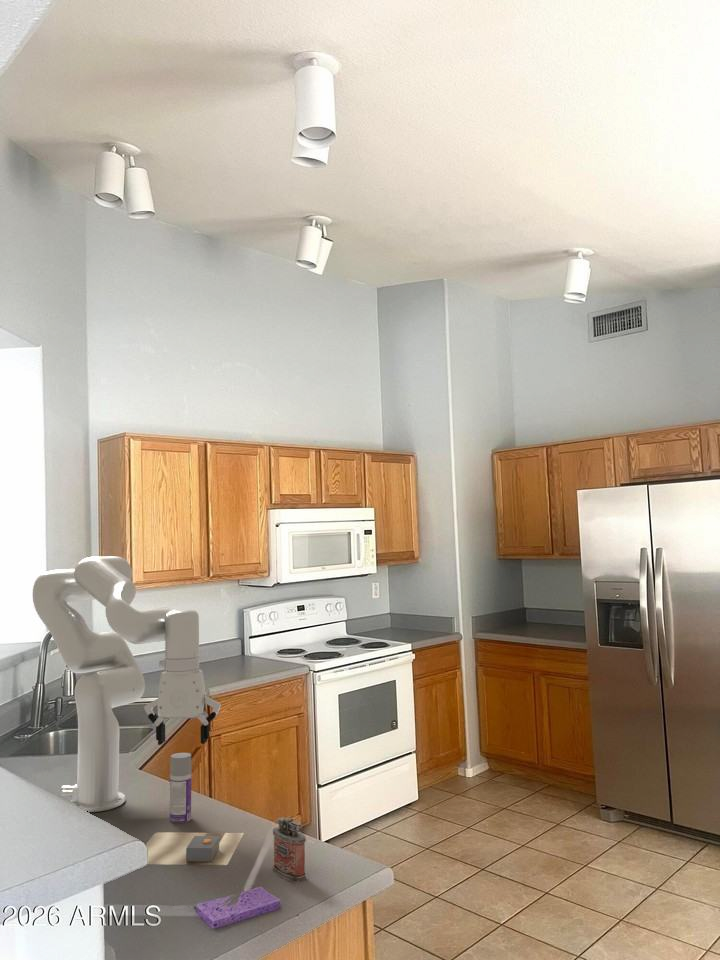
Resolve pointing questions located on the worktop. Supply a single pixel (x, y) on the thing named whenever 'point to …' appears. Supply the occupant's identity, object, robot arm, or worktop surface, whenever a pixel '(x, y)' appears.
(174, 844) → the board
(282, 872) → the lighter
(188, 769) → the container
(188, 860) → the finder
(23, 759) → the worktop surface
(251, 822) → the worktop surface
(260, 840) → the worktop surface
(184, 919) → the worktop surface
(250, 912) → the sponges
